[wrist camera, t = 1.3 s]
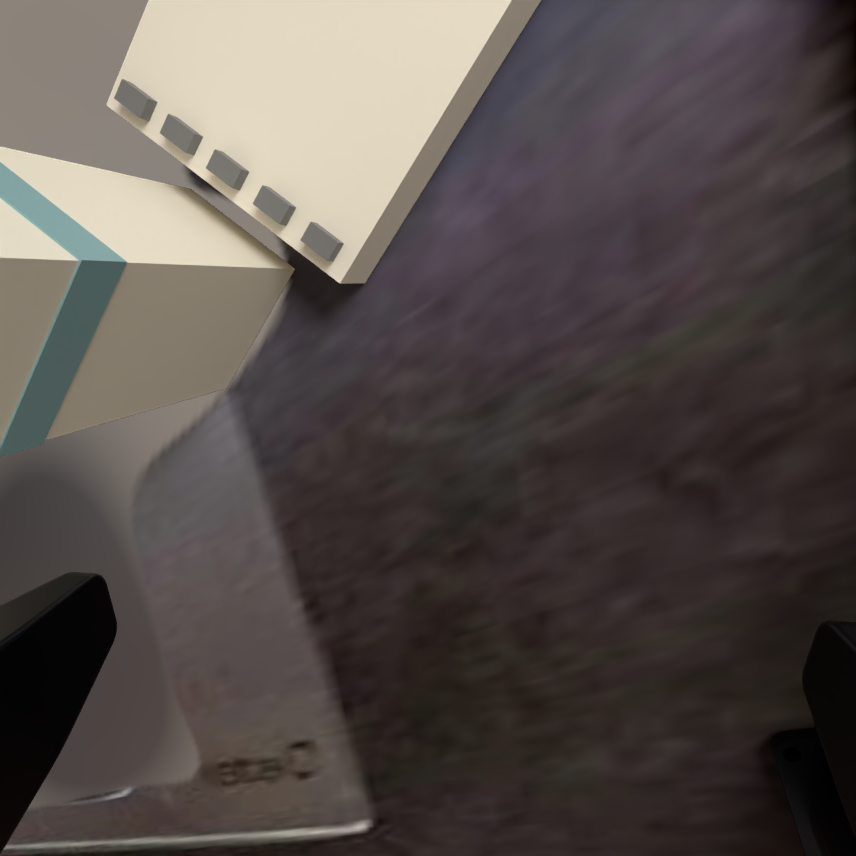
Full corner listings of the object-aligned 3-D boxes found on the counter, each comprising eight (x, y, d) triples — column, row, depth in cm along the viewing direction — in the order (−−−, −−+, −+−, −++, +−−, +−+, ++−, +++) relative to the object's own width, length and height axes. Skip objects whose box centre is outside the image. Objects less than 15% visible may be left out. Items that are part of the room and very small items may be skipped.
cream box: (297, 268, 20) (-23, 255, 10) (227, 390, 22) (-107, 487, 12) (190, 186, 21) (-226, 91, 10) (130, 312, 22) (-279, 340, 12)
